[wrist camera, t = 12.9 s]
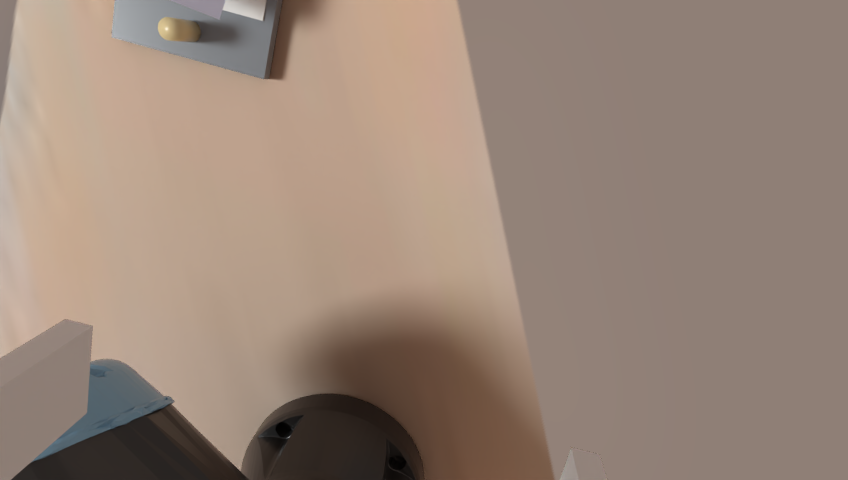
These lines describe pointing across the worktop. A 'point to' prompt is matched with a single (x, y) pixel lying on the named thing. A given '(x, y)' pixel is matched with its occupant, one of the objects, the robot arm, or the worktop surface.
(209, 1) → the wedge on round base
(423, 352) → the worktop surface
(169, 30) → the pin plate
